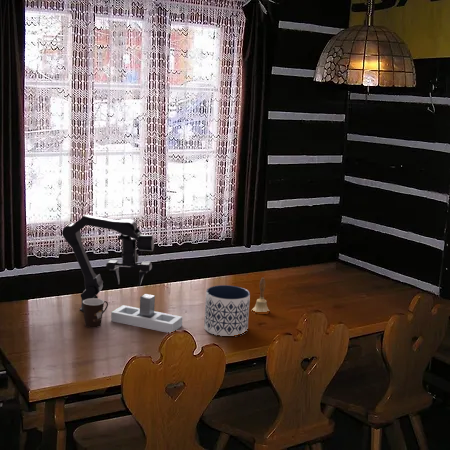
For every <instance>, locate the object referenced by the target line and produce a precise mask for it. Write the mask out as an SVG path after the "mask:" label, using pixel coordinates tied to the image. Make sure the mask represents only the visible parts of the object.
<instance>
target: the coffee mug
mask: <svg viewBox="0 0 450 450" xmlns="http://www.w3.org/2000/svg"><path fill="white" fill-rule="evenodd" d="M105 304H106V307H105ZM104 307H105V308H104ZM108 307H109V303H108V301H105V300H103V299H101V298H98V299H97V298H90V299H85V300H84V301H83V309H84V312H83V316H84V317H83V318H84V326H85V327H87V328H92V329H93V328H99V327H101V325H102V319H103V315H104V313H105V312H106V311H107V309H108Z"/></svg>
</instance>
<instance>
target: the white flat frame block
mask: <svg viewBox="0 0 450 450" xmlns="http://www.w3.org/2000/svg"><path fill="white" fill-rule="evenodd" d="M110 313H111V315H110V317H111V318H110V319H111V320H110V321H111V322H114V323H118V324H122V325H129V326H134V327H136V328H137V327H139V328H144V329H148V330H153V331H157V332H163V333H167V334H171V333H170V332H172V331H175V330H176V331H177V330H179V329H180V328H181V327H182V326H183V316H182V315H180V316H179V315H175V314H171V313H165V312H160V311H155V310H154V316H153V317H151V318H147V317H142V316H140V307H135V306H131V305H130V306H129V305H126V304H125V305H124V304H122V305H121V306H119V307H117V308H116V309H114V310H113V311H111V312H110ZM168 332H169V333H168Z"/></svg>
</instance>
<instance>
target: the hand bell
mask: <svg viewBox="0 0 450 450" xmlns="http://www.w3.org/2000/svg"><path fill="white" fill-rule="evenodd" d="M265 279H266V278H265V277H261V279H260V280H259V290H260V294H259V298H257V299H256V302H255V305H254V307H253V308H252V309H251V311H252V310H253V311H255V312H267V311H270V309H269V307H268V304H267V302H268V301H267V300H266V299H265V297H264V296H265V295H264V294H265V289H266V280H265Z"/></svg>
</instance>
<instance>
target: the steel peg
mask: <svg viewBox="0 0 450 450" xmlns="http://www.w3.org/2000/svg"><path fill="white" fill-rule="evenodd" d="M155 297H156V295H153V294H148V293H144V294H143V295H141V296H140V297H139V308H140V316H142V317H147V318H151V317H153V316H154V311H155V305H156V304H155V301H156V298H155Z"/></svg>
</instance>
